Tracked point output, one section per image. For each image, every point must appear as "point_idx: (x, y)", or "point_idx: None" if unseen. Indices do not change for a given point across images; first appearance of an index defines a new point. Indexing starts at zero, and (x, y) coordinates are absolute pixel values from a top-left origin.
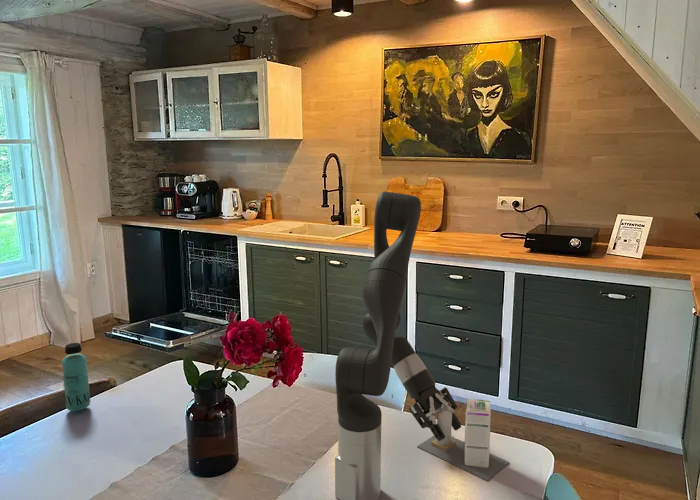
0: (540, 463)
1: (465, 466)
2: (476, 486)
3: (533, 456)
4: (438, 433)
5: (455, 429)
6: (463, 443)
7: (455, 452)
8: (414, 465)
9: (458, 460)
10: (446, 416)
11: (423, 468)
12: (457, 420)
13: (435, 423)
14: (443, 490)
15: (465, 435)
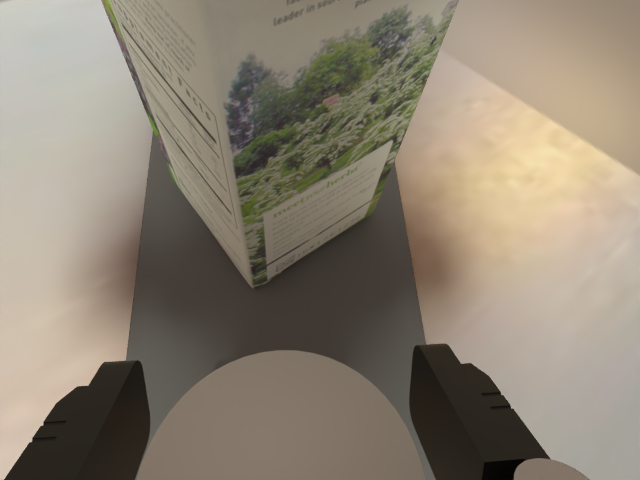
0: (58, 11)
1: (376, 206)
2: (448, 105)
3: (10, 48)
4: (487, 393)
5: (145, 425)
6: (148, 371)
7: (298, 337)
8: (633, 449)
9: (361, 267)
10: (350, 391)
11: (595, 379)
12: (85, 408)
13: (538, 463)
14: (607, 182)
15: (435, 57)
